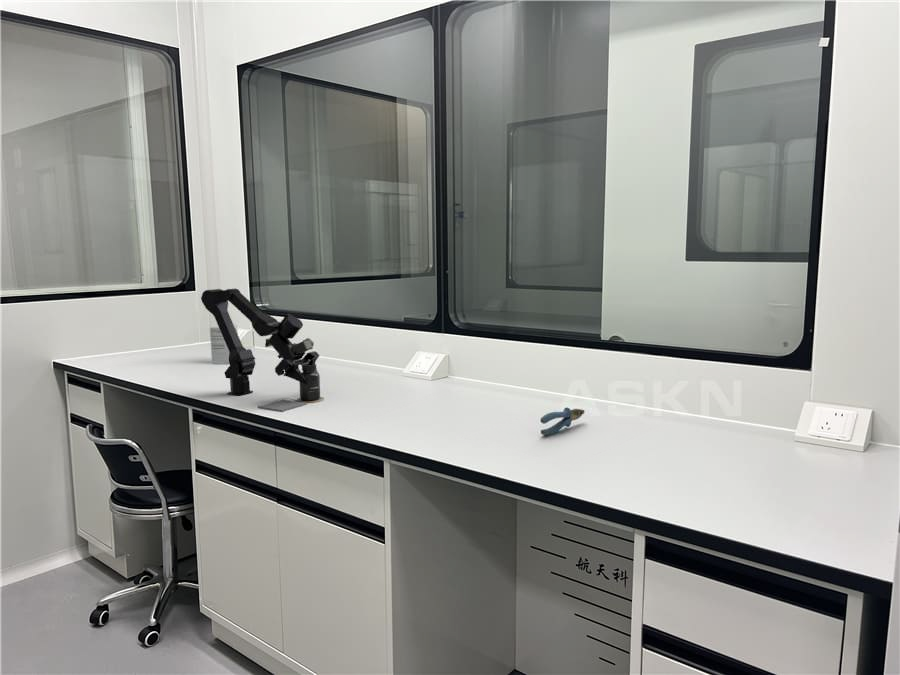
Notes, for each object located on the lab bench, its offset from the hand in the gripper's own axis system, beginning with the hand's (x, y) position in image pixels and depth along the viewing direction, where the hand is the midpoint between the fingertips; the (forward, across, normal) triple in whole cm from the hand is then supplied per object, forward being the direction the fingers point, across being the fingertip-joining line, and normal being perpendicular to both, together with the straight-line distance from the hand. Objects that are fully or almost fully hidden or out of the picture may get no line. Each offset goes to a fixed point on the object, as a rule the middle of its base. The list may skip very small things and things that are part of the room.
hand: (313, 381), depth 227 cm
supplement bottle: (+4, 0, +6) cm, 7 cm away
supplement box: (-54, +51, +64) cm, 98 cm away
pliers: (+67, -7, -57) cm, 88 cm away
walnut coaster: (+4, 0, +6) cm, 7 cm away
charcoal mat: (+1, -11, +8) cm, 13 cm away
